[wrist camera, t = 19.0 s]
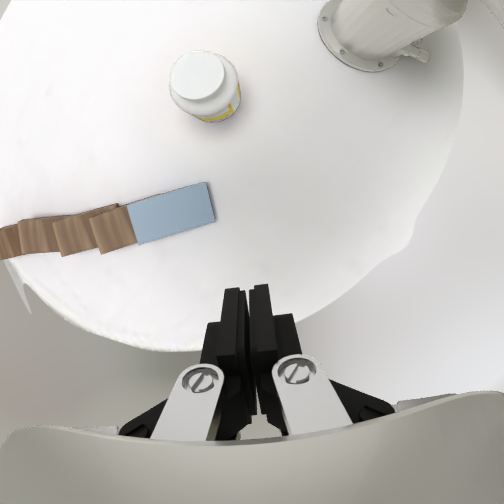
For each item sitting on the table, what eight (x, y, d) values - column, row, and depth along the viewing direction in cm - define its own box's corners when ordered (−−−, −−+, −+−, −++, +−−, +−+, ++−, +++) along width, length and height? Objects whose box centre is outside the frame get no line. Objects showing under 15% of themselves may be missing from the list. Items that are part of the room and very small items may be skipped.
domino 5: (205, 182, 34) (126, 206, 31) (215, 221, 36) (138, 245, 33) (203, 182, 36) (128, 204, 33) (211, 218, 37) (139, 241, 35)
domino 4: (160, 194, 34) (88, 218, 32) (170, 232, 36) (101, 254, 34) (160, 193, 36) (92, 216, 34) (170, 228, 38) (103, 250, 36)
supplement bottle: (205, 66, 30) (184, 29, 18) (250, 88, 32) (252, 58, 19) (178, 109, 32) (145, 92, 20) (223, 132, 33) (211, 123, 21)
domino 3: (115, 205, 34) (52, 223, 32) (123, 240, 36) (61, 257, 34) (117, 203, 36) (56, 220, 34) (125, 237, 38) (65, 252, 36)
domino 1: (22, 223, 33) (-9, 234, 34) (30, 253, 35) (-1, 260, 35) (29, 219, 35) (-2, 230, 35) (37, 248, 37) (6, 256, 37)
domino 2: (73, 216, 35) (17, 222, 31) (76, 250, 36) (21, 254, 33) (76, 214, 37) (22, 219, 33) (79, 246, 38) (26, 250, 35)
